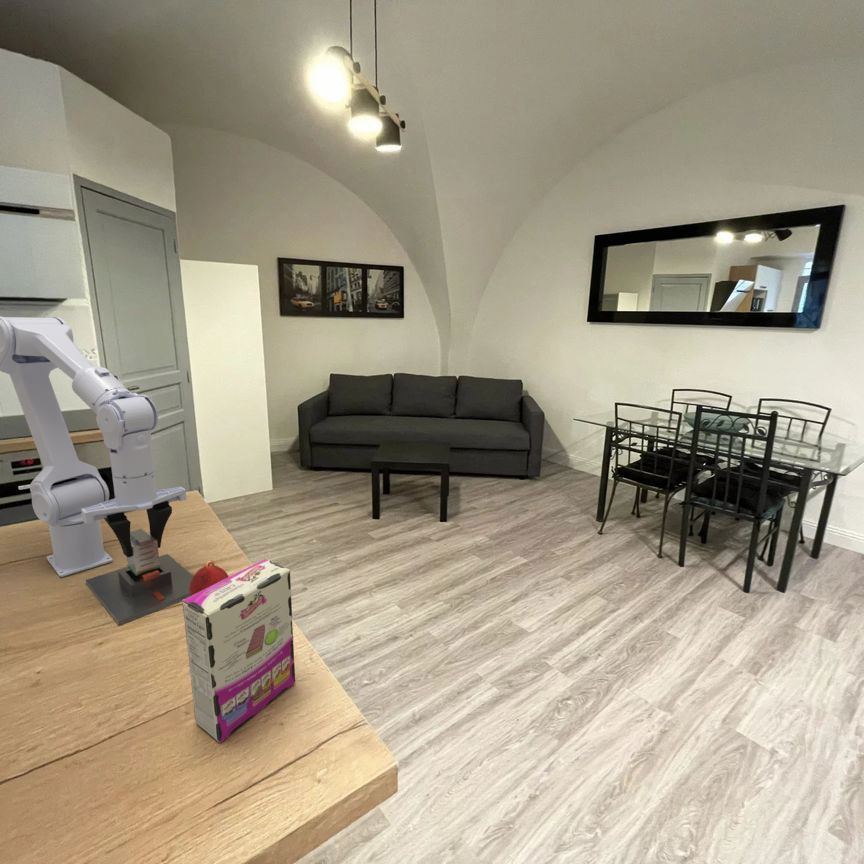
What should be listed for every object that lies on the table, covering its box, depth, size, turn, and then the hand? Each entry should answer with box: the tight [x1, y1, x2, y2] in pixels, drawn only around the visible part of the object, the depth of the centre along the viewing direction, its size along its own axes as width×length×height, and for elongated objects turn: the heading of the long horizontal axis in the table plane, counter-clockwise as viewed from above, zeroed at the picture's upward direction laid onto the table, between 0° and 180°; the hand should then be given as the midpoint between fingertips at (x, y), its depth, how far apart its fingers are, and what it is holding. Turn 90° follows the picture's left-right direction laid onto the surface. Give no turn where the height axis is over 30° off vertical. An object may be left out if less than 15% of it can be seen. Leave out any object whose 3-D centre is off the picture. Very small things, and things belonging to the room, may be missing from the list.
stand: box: [85, 553, 194, 626], centre depth 81 cm, size 16×13×4 cm
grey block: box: [126, 528, 161, 575], centre depth 79 cm, size 5×4×6 cm
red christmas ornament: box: [190, 559, 230, 596], centre depth 76 cm, size 6×6×8 cm
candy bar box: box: [181, 558, 296, 744], centre depth 56 cm, size 11×5×16 cm, turn 148°
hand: (142, 550), depth 79 cm, fingers closed on grey block, 4 cm apart
